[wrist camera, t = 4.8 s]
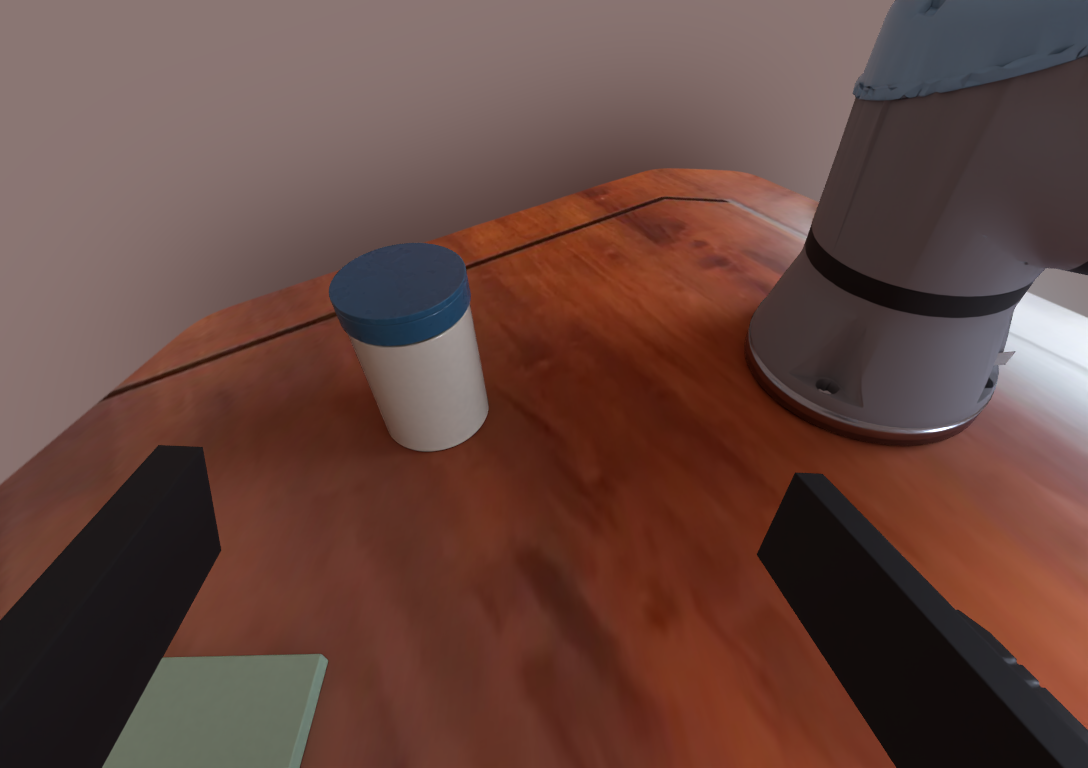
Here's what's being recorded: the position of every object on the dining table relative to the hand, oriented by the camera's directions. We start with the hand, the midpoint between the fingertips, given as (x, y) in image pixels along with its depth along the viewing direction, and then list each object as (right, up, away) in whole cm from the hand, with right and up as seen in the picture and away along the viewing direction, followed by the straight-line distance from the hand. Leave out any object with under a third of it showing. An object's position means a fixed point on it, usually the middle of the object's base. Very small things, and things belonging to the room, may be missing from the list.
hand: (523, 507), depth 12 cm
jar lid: (-8, +8, +17) cm, 20 cm away
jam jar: (-7, +1, +24) cm, 25 cm away
